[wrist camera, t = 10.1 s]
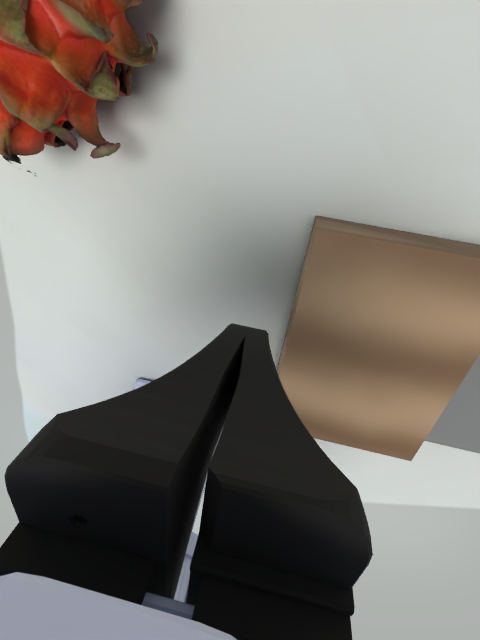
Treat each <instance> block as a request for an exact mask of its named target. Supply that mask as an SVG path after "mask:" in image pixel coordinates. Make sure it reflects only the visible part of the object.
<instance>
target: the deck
mask: <svg viewBox="0 0 480 640" xmlns="http://www.w3.org/2000/svg"><path fill="white" fill-rule="evenodd" d="M479 354H480V245H476V244H470V243H465V242H459V241H454V240H448V239H443V238H437V237H431V236H426V235H420V234H415V233H409V232H404V231H398V230H393V229H387V228H381V227H376V226H370V225H365V224H359V223H354V222H348V221H342V220H337V219H331V218H326V217H320V216H315V220H314V224H313V228H312V232H311V236H310V240H309V244H308V248H307V252H306V256H305V260H304V264H303V268H302V272H301V276H300V280H299V284H298V288H297V292H296V296H295V300H294V304H293V308H292V312H291V316H290V320H289V324H288V328H287V332H286V336H285V340H284V344H283V348H282V352H281V356H280V360H279V364H278V368H277V373H278V376H279V378H280V381H281V383H282V386H283V388H284V390H285V392H286V394H287V396H288V398H289V400H290V402H291V404H292V406H293V408H294V410H295V411H296V413H297V415H298V416H299V418H300V420H301V421H302V423H303V424H304V426H305V427H306V429H307V430H308V431H309V433H310V434H311V436H312V437H313V438H316V439H320V440H325V441H329V442H333V443H337V444H341V445H346V446H350V447H354V448H358V449H362V450H367V451H371V452H375V453H379V454H384V455H388V456H392V457H396V458H400V459H405V460H409V461H411V460H412V459H413V457H414V456H415V454H416V453H417V451H418V450H419V448H420V446H421V445H422V443H423V442H424V440H425V439H426V437H427V436H428V434H429V432H430V431H431V429H432V428H433V426H434V425H435V423H436V421H437V420H438V418H439V417H440V415H441V414H442V412H443V411H444V409H445V407H446V406H447V404H448V403H449V401H450V400H451V398H452V397H453V395H454V393H455V392H456V390H457V389H458V387H459V386H460V384H461V382H462V381H463V379H464V378H465V376H466V375H467V373H468V372H469V370H470V368H471V367H472V365H473V364H474V362H475V361H476V359H477V358H478V356H479Z"/></svg>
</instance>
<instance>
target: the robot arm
mask: <svg viewBox="0 0 480 640" xmlns="http://www.w3.org/2000/svg"><path fill="white" fill-rule="evenodd" d="M268 335H269V334H268V333H267V331H265V330H260V329H255V328H251V327H246V326H241V325H237V324H230V325H228V326H227V327H226V329H225V330H224V331H223V332H222V333H221V334H219V335H218V336H217V337H216V338H215V339H214V340H213V341H212V342H211V343H209V344H208V345H207V346H206V347H205V348H203V349H202V350H201V351H200V352H198V353H197V354H196V355H194V356H193V357H191V358H190V359H189V360H187V361H186V362H185V363H183V364H182V365H180V366H179V367H177V368H175V369H174V370H172V371H170V372H169V373H167V374H165V375H164V376H162V377H160V378H158V379H156V380H154V381H152V382H151V381H147V380H142V379H138V380H137V381H136V382H135V383H134V390H132V391H130V392H127V393H125V394H122V395H120V396H117V397H114V398H111V399H108V400H106V401H102V402H99V403H96V404H93V405H89V406H86V407H82V408H79V409H75V410H72V411H68V412H64V413H60V414H57V415H56V416H55V417H54V418H53V419H52V420H51V421H50V422H49V423H48V424H46V425H45V426H44V427H43V428H42V429H41V430H40V431H39V433H38V434H37V435H36V436H35V437H34V438H33V439H32V440H31V441H30V442H29V444H28V445H27V446H26V447H25V448H24V449H23V450H22V451H21V453H20V454H19V455H18V456H17V457H16V458H15V459H14V461H12V463H11V464H10V465H9V466H8V467H7V470H6V474H5V482H6V487H7V491H8V494H9V496H10V498H11V502H12V504H13V507H14V509H15V512H16V514H17V517H18V519H19V523H18V525H17V526H16V527H15V529H14V530H13V531H12V533H11V534H10V535H9V537H8V538H7V539H6V541H5V542H4V543H3V545H2V546H1V548H0V640H352V632H351V622H350V616H352V615H353V613H354V599H353V589H352V587H353V585H354V584H355V582H356V581H357V580H358V578H359V577H360V576H361V574H362V573H363V571H364V570H365V568H366V567H367V566H368V564H369V562H370V560H371V557H372V555H373V554H372V546H371V536H370V531H369V527H368V522H367V519H366V515H365V512H364V508H363V505H362V502H361V499H360V495H359V492H358V490H357V488H356V487H355V486H354V485H353V484H352V483H351V482H350V481H349V479H348V478H347V477H346V476H345V475H344V474H343V473H342V472H341V471H340V470H339V469H338V468H337V467H336V466H335V465H334V463H333V462H332V461H331V460H330V459H329V458H328V457H327V455H326V454H325V453H324V452H323V451H322V449H321V448H320V447H319V446H318V444H317V443H316V441H315V440H314V439H313V437H312V436H311V434H310V433H309V431H308V430H307V429H306V427H305V426H304V424H303V423H302V421H301V420H300V418H299V416H298V415H297V413H296V411H295V410H294V408H293V406H292V404H291V402H290V400H289V398H288V396H287V394H286V392H285V390H284V388H283V386H282V383H281V381H280V378H279V376H278V373H277V371H276V367H275V364H274V361H273V358H272V355H271V350H270V346H269V338H268ZM205 484H206V487H205ZM204 488H205V494H204V502H203V509H202V516H201V523H200V531H199V535H197V534H195V533H193V532H192V529H193V525H194V522H195V519H196V515H197V512H198V508H199V505H200V501H201V498H202V495H203V491H204Z"/></svg>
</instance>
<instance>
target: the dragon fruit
mask: <svg viewBox="0 0 480 640" xmlns="http://www.w3.org/2000/svg"><path fill="white" fill-rule="evenodd" d="M142 1H143V0H0V154H1V155H3V158H4V159H6V160H7V161H9V160H10V161H15V162H17V163H20V164H21V162H20V161H21V160H20V158H19V157H18V156H17V155H24V156H27V155H34V154H38V153H39V152H41V151H42V150H43V149H44V144H46V145H50V146H54V147H60V146H65V145H66V144H67V145H69V146H70V147H71V148H72V149H73V150H76V148H77V146H78V143H77V140H76V138H75V137H74V136H73V135H72V134H71V133H70V132H69V131H71V130H73V129H74V128H75V129H76V131H77V132H78V133H79V135H80V136H81V137H82V138H83V139H84V140H86V141H87V142H89V143H91V144H93V145H95V146H97V147H96V148H95V149H93V151H92V152H91V155H90V156H91V157H93V158H100V157H104V156H109V155H111V154H112V153H114V152H116V151H117V150H118V149H119V147H120V143H116V144H113V143H109V142H108V141H106V140H105V139H104V138H103V137H102V135H101V133H100V131H99V126H98V118H97V112H96V103H97V99H100V100H109V101H116V100H117V97H118V95H119V96H129V95H130V93H131V90H132V82H131V79H132V75H133V69H132V66H133V67H144V66H146V65H148V64H149V63H151V62H152V61H153V60H154V59H155V56H156V55H157V51H158V43H157V41H156V39H155V37H154V36H153V34H150V33H147V37H148V40H149V43H150V44H151V45H152V47H147V46H145V45H144V44H143V43H142V41H141V40H140V39H139V37H138V36H137V35H136V33H135V32H134V30H133V28H132V27H131V25H130V24H129V23H128V22H127V20H126V16H125V10H126V9H127V8H128V7H132V6H137V5H139V4H140V3H141V2H142ZM117 62H120V65H121V72H120V76H119V77H118V76H117V75H116V73H115V66H116V63H117ZM68 130H69V131H68ZM10 163H11V162H10ZM19 169H20V168H19ZM28 172H30V171H29V170H28ZM30 173H31V172H30ZM35 174H36V173H35ZM35 176H36V175H35Z"/></svg>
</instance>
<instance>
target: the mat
mask: <svg viewBox="0 0 480 640" xmlns="http://www.w3.org/2000/svg"><path fill="white" fill-rule="evenodd" d="M424 441H428V442H433V443H437V444H441V445H446V446H450V447H454V448H459V449H463V450H467V451H472V452H476V453H480V354H479V356H478V358H477V359H476V361H475V362H474V364H473V365H472V367H471V368H470V370H469V372H468V373H467V375H466V376H465V378H464V379H463V381H462V382H461V384H460V386H459V387H458V389H457V390H456V392H455V393H454V395H453V397H452V398H451V400H450V401H449V403H448V404H447V406H446V407H445V409H444V411H443V412H442V414H441V415H440V417H439V418H438V420H437V421H436V423H435V425H434V426H433V428H432V429H431V431H430V432H429V434H428V436H427V437H426V439H425V440H424Z"/></svg>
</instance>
